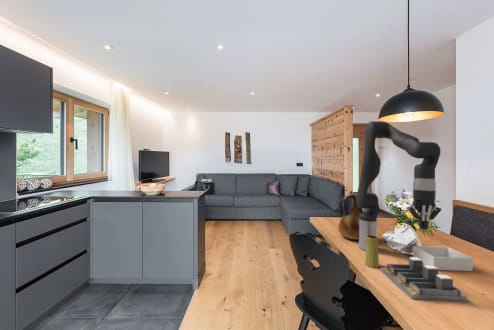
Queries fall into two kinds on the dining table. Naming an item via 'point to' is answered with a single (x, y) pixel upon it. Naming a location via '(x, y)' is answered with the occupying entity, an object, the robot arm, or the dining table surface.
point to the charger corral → (443, 258)
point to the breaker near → (444, 282)
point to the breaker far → (415, 263)
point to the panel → (419, 284)
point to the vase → (372, 251)
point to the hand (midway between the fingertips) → (423, 229)
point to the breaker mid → (430, 271)
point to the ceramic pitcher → (350, 220)
